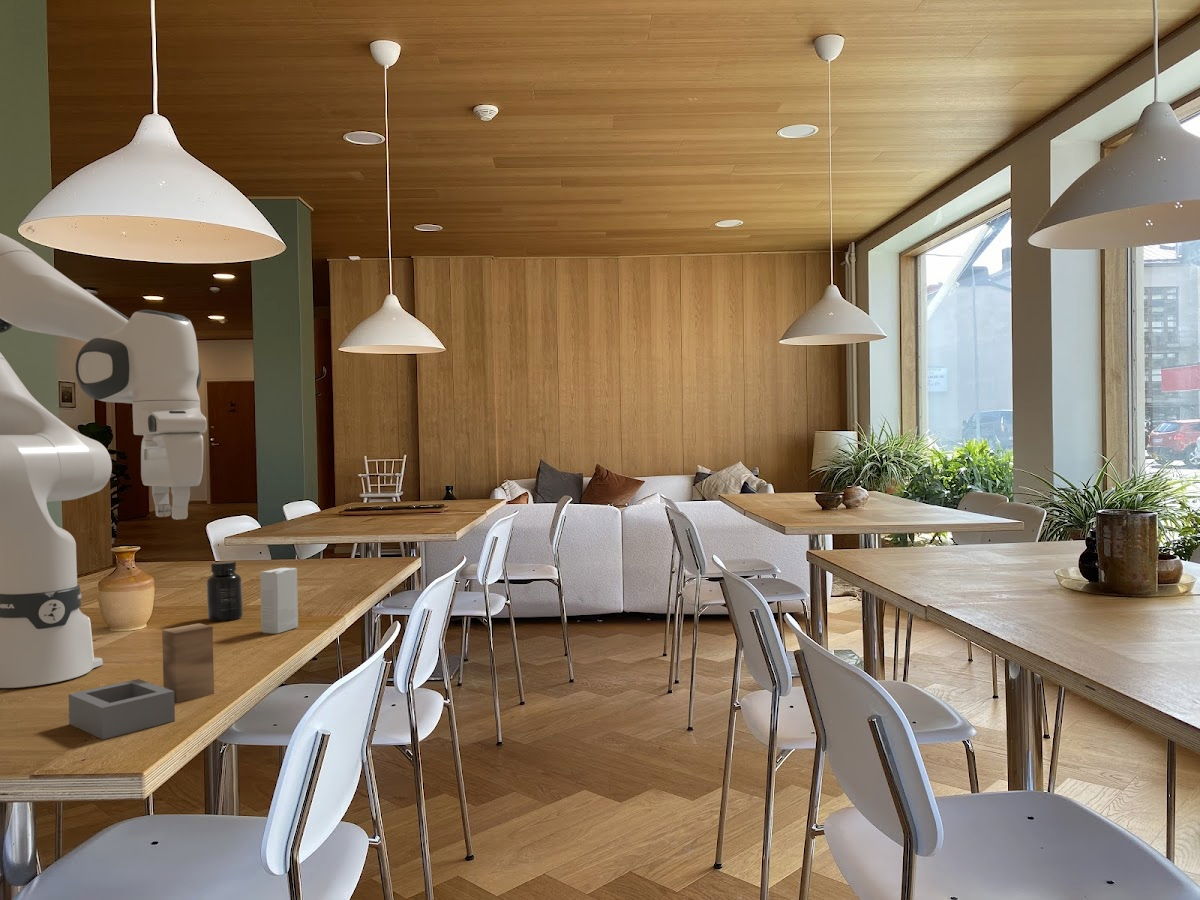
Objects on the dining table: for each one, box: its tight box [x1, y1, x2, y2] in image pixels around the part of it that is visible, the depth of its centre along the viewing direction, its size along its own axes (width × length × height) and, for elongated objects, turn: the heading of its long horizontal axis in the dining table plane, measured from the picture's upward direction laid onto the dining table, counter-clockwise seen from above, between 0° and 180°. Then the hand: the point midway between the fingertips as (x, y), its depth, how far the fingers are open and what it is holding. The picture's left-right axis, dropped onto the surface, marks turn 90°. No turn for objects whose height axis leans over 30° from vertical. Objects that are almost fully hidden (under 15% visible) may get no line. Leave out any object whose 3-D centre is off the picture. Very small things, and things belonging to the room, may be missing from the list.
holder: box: [68, 678, 176, 741], centre depth 117 cm, size 10×9×4 cm
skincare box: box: [259, 567, 299, 635], centre depth 174 cm, size 6×4×12 cm
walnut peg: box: [161, 623, 215, 704], centre depth 129 cm, size 4×6×10 cm
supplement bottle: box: [206, 560, 244, 622], centre depth 187 cm, size 7×7×12 cm
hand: (171, 517), depth 127 cm, fingers open, 8 cm apart
